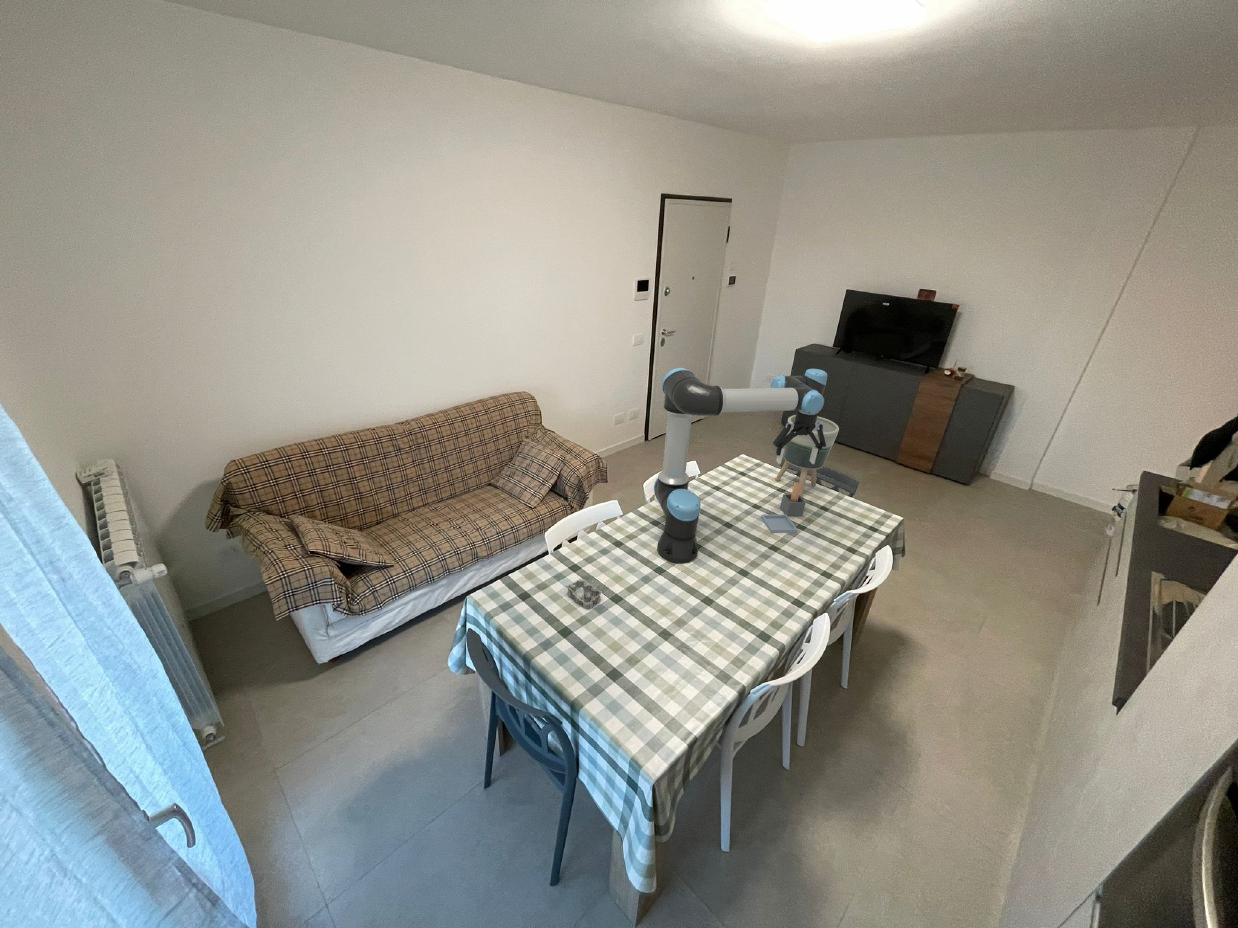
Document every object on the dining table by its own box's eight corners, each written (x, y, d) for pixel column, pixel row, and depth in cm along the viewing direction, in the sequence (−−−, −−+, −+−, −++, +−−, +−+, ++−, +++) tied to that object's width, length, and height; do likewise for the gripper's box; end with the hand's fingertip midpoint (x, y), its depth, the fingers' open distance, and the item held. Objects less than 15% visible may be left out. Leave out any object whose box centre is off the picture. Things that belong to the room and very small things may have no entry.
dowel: (788, 513, 211) (796, 485, 205) (786, 510, 214) (793, 482, 207) (795, 513, 212) (803, 485, 205) (792, 510, 214) (800, 482, 208)
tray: (770, 534, 198) (771, 530, 197) (760, 518, 207) (761, 514, 207) (796, 533, 199) (797, 529, 198) (785, 518, 209) (786, 514, 208)
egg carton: (564, 594, 160) (564, 585, 158) (580, 584, 165) (581, 574, 163) (586, 612, 154) (587, 602, 152) (603, 600, 159) (604, 590, 157)
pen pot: (786, 517, 209) (789, 502, 206) (779, 508, 216) (783, 494, 212) (801, 517, 210) (805, 502, 207) (794, 508, 216) (798, 494, 213)
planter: (766, 476, 242) (780, 413, 226) (807, 476, 244) (824, 414, 229) (783, 500, 223) (800, 432, 207) (828, 499, 225) (848, 433, 210)
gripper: (779, 414, 177) (767, 467, 187) (844, 415, 180) (830, 466, 190) (771, 407, 184) (760, 458, 194) (834, 408, 187) (821, 458, 197)
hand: (795, 462), depth 192 cm, fingers open, 13 cm apart
